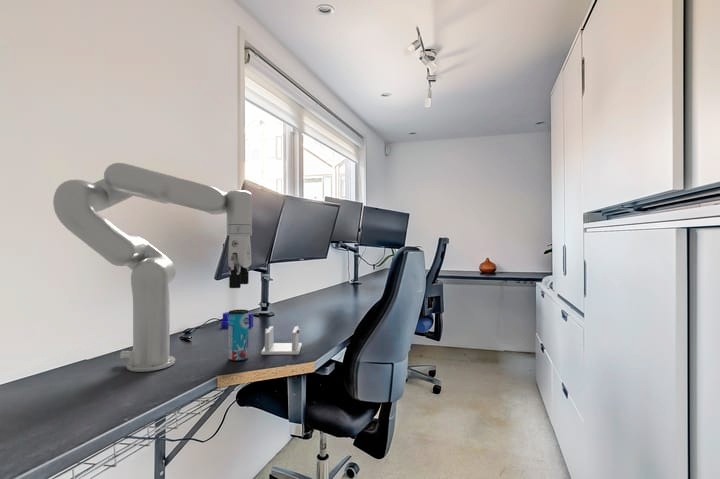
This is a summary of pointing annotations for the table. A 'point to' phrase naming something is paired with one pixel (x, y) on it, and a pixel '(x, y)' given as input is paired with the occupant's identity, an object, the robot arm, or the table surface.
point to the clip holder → (281, 347)
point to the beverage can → (238, 335)
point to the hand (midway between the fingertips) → (239, 285)
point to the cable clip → (226, 320)
